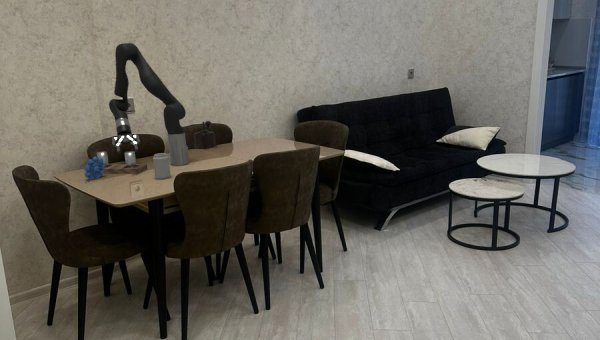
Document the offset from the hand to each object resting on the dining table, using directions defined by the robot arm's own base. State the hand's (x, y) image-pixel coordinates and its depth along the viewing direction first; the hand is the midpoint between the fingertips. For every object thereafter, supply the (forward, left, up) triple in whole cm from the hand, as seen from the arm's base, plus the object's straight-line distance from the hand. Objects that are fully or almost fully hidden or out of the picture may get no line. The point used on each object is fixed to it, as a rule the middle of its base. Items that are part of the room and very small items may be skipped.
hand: (128, 151), depth 276 cm
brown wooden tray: (+2, +9, -9) cm, 13 cm away
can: (-28, +18, -10) cm, 35 cm away
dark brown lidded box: (-21, -59, -10) cm, 63 cm away
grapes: (+5, +24, -10) cm, 26 cm away
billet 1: (+10, +9, -8) cm, 16 cm away
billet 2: (-6, +9, -8) cm, 14 cm away
